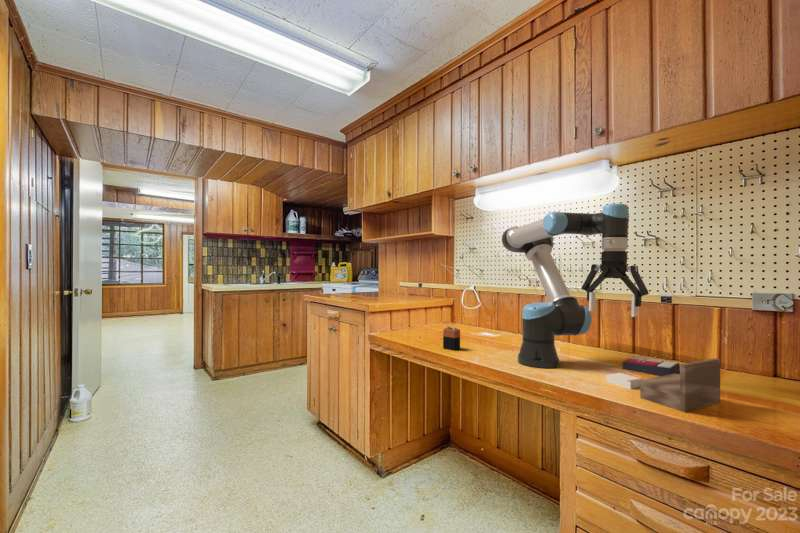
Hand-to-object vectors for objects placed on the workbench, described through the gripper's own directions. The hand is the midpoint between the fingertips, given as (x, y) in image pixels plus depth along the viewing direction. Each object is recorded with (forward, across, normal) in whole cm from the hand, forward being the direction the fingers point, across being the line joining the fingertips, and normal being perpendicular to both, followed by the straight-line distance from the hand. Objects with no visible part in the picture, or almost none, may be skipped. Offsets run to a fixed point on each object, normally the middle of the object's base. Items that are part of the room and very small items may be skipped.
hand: (612, 313), depth 120 cm
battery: (+24, -61, -16) cm, 68 cm away
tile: (+22, +6, -2) cm, 23 cm away
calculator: (+23, +4, +22) cm, 32 cm away
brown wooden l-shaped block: (+21, +21, -5) cm, 30 cm away
